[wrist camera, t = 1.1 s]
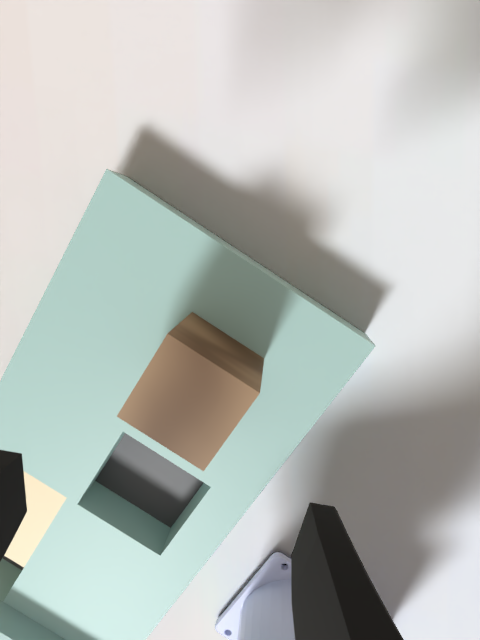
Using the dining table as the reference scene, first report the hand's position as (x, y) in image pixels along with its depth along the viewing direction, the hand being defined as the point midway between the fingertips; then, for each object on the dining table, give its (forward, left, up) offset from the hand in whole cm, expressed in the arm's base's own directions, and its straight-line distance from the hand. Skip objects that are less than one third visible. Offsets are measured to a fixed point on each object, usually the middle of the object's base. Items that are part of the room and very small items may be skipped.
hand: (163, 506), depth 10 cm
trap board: (+2, +9, -14) cm, 17 cm away
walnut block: (+1, +1, -11) cm, 11 cm away
